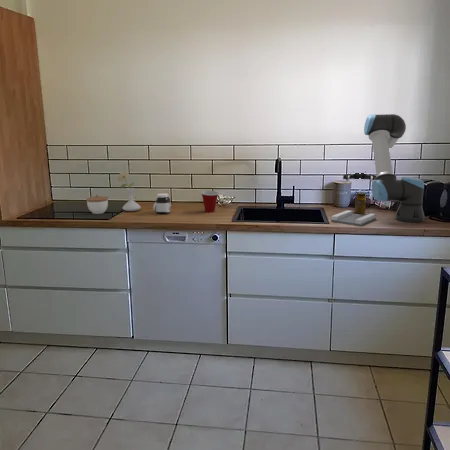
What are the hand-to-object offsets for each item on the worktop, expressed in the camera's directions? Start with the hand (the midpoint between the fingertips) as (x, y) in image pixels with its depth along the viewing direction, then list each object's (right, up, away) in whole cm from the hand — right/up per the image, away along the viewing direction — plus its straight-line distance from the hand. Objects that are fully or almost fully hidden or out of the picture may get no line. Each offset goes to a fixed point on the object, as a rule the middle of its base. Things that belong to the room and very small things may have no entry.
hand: (360, 179), depth 276 cm
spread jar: (-121, -20, +2) cm, 123 cm away
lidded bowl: (-160, -20, +4) cm, 161 cm away
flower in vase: (-141, -19, +9) cm, 143 cm away
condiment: (-2, -21, -5) cm, 22 cm away
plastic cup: (-91, -19, +4) cm, 93 cm away
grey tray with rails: (-10, -25, -23) cm, 35 cm away
